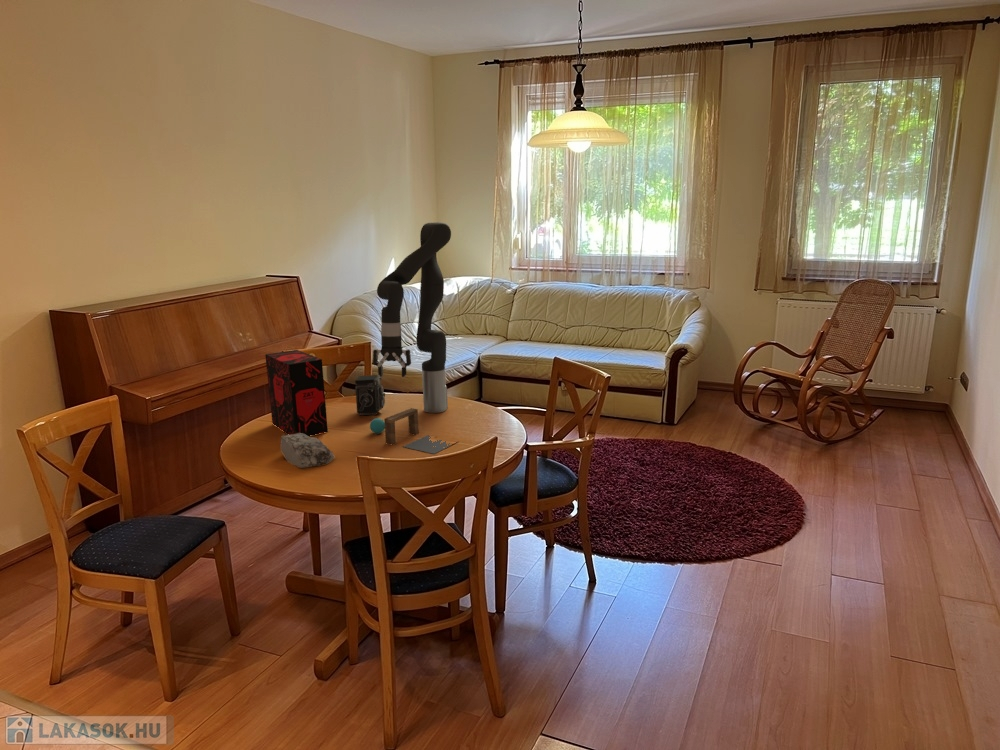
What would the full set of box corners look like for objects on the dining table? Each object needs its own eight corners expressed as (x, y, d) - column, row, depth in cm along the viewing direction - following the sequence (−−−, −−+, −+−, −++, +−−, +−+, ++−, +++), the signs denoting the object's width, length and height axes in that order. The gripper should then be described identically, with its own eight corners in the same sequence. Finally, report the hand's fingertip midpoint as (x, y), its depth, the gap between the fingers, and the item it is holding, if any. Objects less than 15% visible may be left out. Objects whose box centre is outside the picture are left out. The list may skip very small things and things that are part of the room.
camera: (382, 416, 277) (380, 380, 274) (356, 416, 278) (353, 380, 274) (387, 409, 288) (385, 373, 284) (361, 409, 288) (359, 374, 284)
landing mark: (427, 435, 253) (427, 435, 253) (458, 442, 246) (458, 441, 246) (402, 447, 242) (402, 446, 242) (434, 454, 234) (434, 453, 234)
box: (272, 424, 270) (265, 354, 263) (303, 418, 277) (296, 349, 270) (295, 439, 252) (288, 364, 245) (327, 432, 259) (321, 359, 253)
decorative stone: (273, 453, 235) (279, 425, 233) (310, 451, 244) (315, 424, 242) (299, 477, 221) (304, 448, 219) (336, 474, 230) (342, 446, 228)
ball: (377, 429, 261) (376, 415, 260) (388, 432, 258) (387, 417, 257) (367, 434, 257) (366, 419, 255) (378, 436, 254) (377, 421, 252)
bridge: (385, 443, 246) (384, 418, 244) (412, 432, 258) (411, 408, 255) (392, 445, 244) (390, 419, 242) (418, 433, 256) (417, 409, 254)
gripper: (412, 333, 265) (412, 375, 268) (375, 332, 267) (376, 374, 270) (407, 335, 258) (408, 378, 261) (370, 335, 259) (371, 378, 262)
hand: (392, 376), depth 265 cm, fingers open, 8 cm apart
